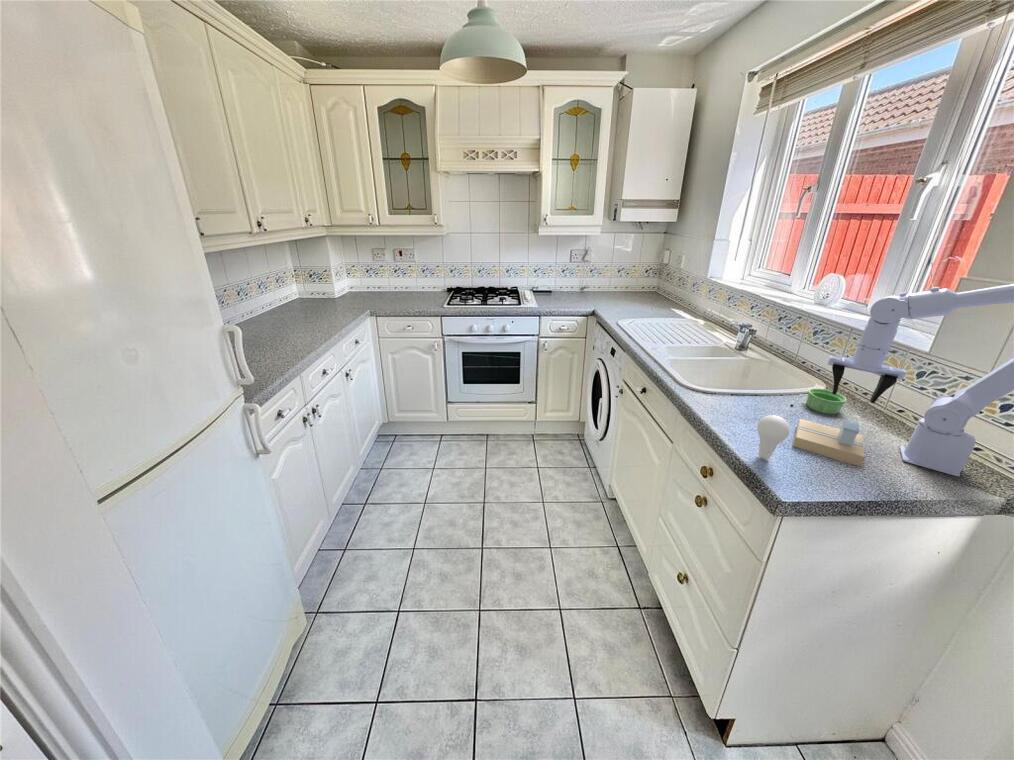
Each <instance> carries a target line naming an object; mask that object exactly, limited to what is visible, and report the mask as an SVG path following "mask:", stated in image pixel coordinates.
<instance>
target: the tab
mask: <svg viewBox="0 0 1014 760" xmlns="http://www.w3.org/2000/svg"><path fill="white" fill-rule="evenodd" d="M859 427H860V424H859V422H856V421H852V420H848V419H843V420H842V425H841V428H840V429H841V430H840V432H839V439H838V443H842V444H845V445H849V446H852V444H853V442H854V440H855V437H856V435H857V434H859V433H860V428H859Z"/></svg>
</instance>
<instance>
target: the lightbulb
mask: <svg viewBox="0 0 1014 760" xmlns="http://www.w3.org/2000/svg"><path fill="white" fill-rule="evenodd" d="M756 429H757V434H758V436H759V444H758V447H759V448H758V452H757V454H758V457H760V459H762V460H770V459H771V457H772V455H773V453H774V452H775V451H776V448H777V447H778V446H779V444H780V443H782V442H784V441H785V440H786V439H787V438H788V437H789V435H790V432H791V427H790V425H789V423H788V421H787V420H786V419H785V418H783V417H781V416H779V415H774V414H773V415H771V414H770V415H767V416H764V417H762V418H761V419H760V420H759V421H758V423H757V427H756Z"/></svg>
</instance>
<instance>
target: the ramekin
mask: <svg viewBox="0 0 1014 760" xmlns="http://www.w3.org/2000/svg"><path fill="white" fill-rule="evenodd" d="M832 391H833V390H829V389H824V388H817V387H816V388H815V387H814V388H809V389H808V392H807V398H806V403H805V404H806V406H807V407H808V408H810V409H812V410H813V411H816V412H818V413H822V414H828V415H836V414H838V413H839V412H840V411H841V409H842V408H843V405H844V404H845V403H846V401H847V398H846V396H844V395H843V394H840V393H839V392H837V393H836V395H835V394H832Z"/></svg>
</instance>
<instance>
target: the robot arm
mask: <svg viewBox="0 0 1014 760" xmlns="http://www.w3.org/2000/svg"><path fill="white" fill-rule="evenodd" d="M940 288H941V287H940V286H934V287H931V288H930V289H929V290H926V291H920V292H919V291H918V292H914V293H907V291H906V292H901V293H899V296H897V295H889V296H885V297H883V298H881V299H878V300H876V302H874V303H873V304H872V305H871V307H870V309H869V314H870V317H869V318H868V321H867V324H866V325H865V327H864V330H863V332H862V335H861V337H860V340H859V342H858V345H857V347H856V350H855V352H854V355H853V357H851V358H850V357H844V356H843V357H841V356H834V355H830V356H829V358H828V360H827V361H828V362H827V365H829V366H831V370H832V375H833V388H832V390H831V391H832V394H835V395H836V393H838V389H839V386H840V383H841V381H842V378H843V376H844V374H845V368H846V369H851V370H857V371H862V372H867V373H872V374H876V375H880V376H879V379H878V383H877V385H876V387H875V389H874V391H873V393H872V395H871V397H870V399H869V400H870V401H869V402H870V403H871V404H875V402H876V401H877V400H879V398H880V396H881V395H882V394H884V393H885V392H886V391H887V390H889V388H891V387H893V386H894V385H895V384H896V383H897V382H898V380H904V379H905V377H906V375H907V370H906V369H902V368H897V367H893V366H890V365H886V364H884V363H885V360H886V359H887V355H888V353H889V351H890V350H891V346H892V344H893V341H894V339H895V337H896V335H897V333H898V327H899V325H900V322H901V321H902V320H901V319H906V320H916V319H925V318H926V319H927V318H935V317H943V316H944V317H945V316H950V315H951V314H953V312H955V310H957V309H960V308H961V309H962V308H969V307H971V308H972V307H979V306H990V305H991V306H992V305H999V304H1000V305H1002V304H1009V303H1010V304H1012V303H1014V283H1012V284H1010V283H1009V284H1004V285H998V286H991V287H986V288H980V289H974V290H969V291H968V290H967V291H961V292H955V291H954V290H952V289H950V288H941V289H940ZM897 379H898V380H897ZM1013 391H1014V357H1012V358H1011V359H1009V360H1007V361H1006V362H1004V363H1003V364H1001V365H1000V366H998V367H997V368H995V369H993V370H992V371H990V372H989V373H987V374H984V376H982V377H980V378H979V379H977V380H976V381H974V382H971V384H969V385H968V386H965V387H962V388H960V389H959V390H957V391H955V392H953V393H950V394H947V395H942V396H939V397H937V398H935V399H934V400H933V401H932V402H931V405H930V407H929V408H928V409H927V410H926V411H925V413H924V415H923V416H924V417H922V418H920V419H919V421H918V423H917V425H916V426H915V429H914V430H913V433H912V435H911V437H910V438H909V441H908V442H907V445H906V446H904V445H900V446H899V451H900V455H901V459H902V461H903V462H905V463H908V464H912V465H916V466H919V467H923V468H926V469H929V470H934V471H938V472H940V473H944V474H948V475H952V476H955V477H959V478H960V476H961V474H960V473H961V471H962V470H963V468H964V466H965V465H966V463H967V461H968V460H969V458H970V456H971V455H972V453H973V450H974V449H975V445H976V437H975V436H974V435H973V434H969V433H966V432H965V429H964V428H965V426H966V425H967V423H968V421H969V420H970V419H972V418H973V417H975V416H976V415H978V414H979V413H980V412H982V411H983V410H984V409H985V408H986V407H987V406H989V405H991V404H993V403H994V402H995V401H997V400H999V399H1001V398H1003V397H1004V396H1006V395H1007V394H1008V395H1009V394H1010V393H1011V392H1013Z"/></svg>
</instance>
